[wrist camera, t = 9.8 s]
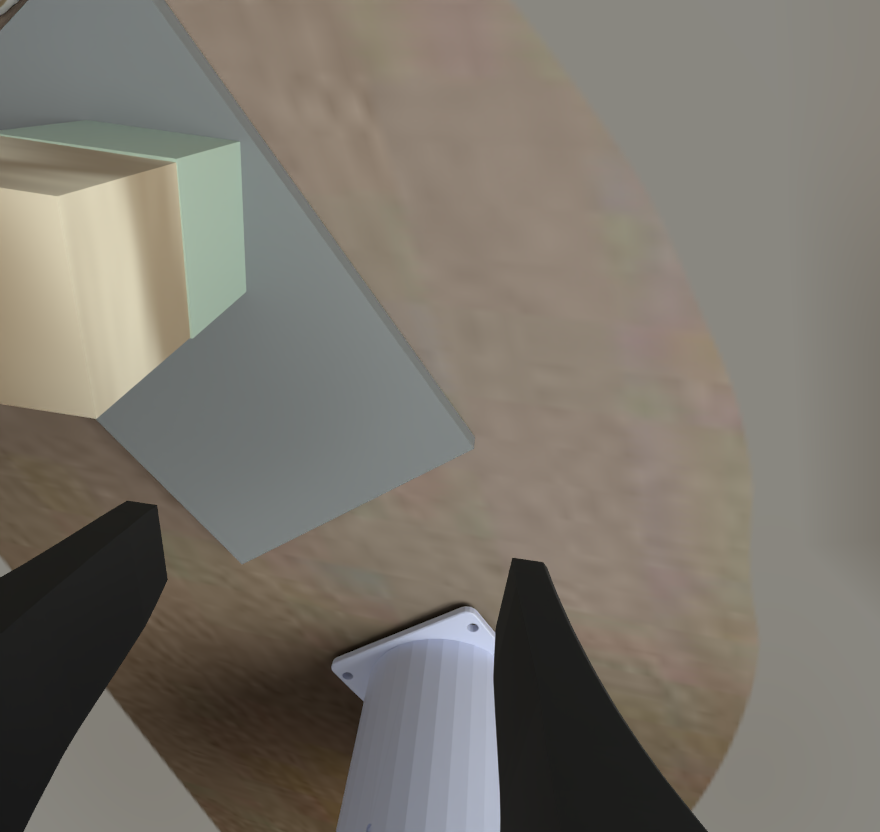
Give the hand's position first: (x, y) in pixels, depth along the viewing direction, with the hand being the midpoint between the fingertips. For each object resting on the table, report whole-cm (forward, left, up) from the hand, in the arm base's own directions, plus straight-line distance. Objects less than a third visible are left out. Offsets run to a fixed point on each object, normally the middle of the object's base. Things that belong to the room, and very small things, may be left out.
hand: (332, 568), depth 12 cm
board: (+5, +5, -10) cm, 13 cm away
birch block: (+8, +3, -6) cm, 10 cm away
